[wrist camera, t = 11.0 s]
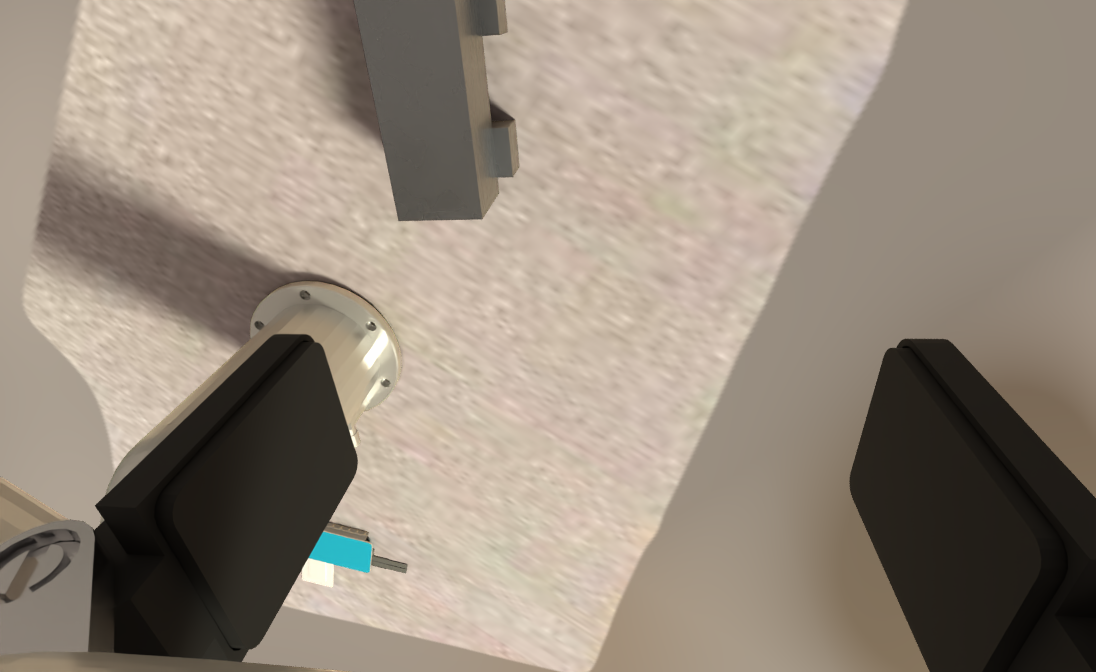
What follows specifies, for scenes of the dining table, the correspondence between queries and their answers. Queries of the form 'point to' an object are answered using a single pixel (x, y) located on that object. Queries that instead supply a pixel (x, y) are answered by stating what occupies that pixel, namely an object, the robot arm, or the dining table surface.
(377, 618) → the dining table surface
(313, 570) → the cyan and grey device
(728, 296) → the dining table surface
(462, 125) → the metal sleeve
